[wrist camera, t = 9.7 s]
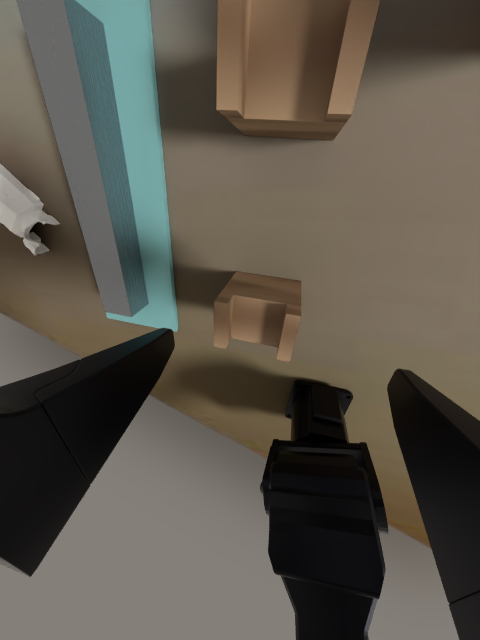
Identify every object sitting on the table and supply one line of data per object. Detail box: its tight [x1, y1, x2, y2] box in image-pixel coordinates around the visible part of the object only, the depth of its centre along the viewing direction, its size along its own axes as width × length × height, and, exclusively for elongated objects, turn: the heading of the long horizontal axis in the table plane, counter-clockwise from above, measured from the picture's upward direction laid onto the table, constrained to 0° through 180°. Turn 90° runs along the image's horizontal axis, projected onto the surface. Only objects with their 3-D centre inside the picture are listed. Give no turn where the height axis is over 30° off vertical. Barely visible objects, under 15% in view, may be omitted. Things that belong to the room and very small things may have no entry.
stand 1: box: [216, 0, 380, 140], centre depth 12 cm, size 4×6×6 cm, turn 86°
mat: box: [75, 0, 178, 332], centre depth 20 cm, size 26×9×1 cm, turn 176°
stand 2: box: [214, 271, 301, 362], centre depth 19 cm, size 4×6×6 cm, turn 86°
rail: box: [17, 0, 149, 317], centre depth 18 cm, size 20×3×3 cm, turn 176°
